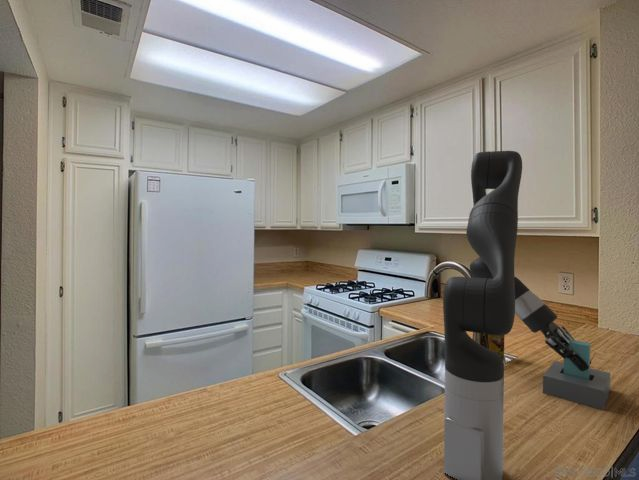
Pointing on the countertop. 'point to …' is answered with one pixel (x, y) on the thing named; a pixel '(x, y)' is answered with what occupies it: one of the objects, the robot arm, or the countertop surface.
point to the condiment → (497, 345)
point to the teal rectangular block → (584, 353)
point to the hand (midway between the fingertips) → (586, 366)
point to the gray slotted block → (577, 386)
